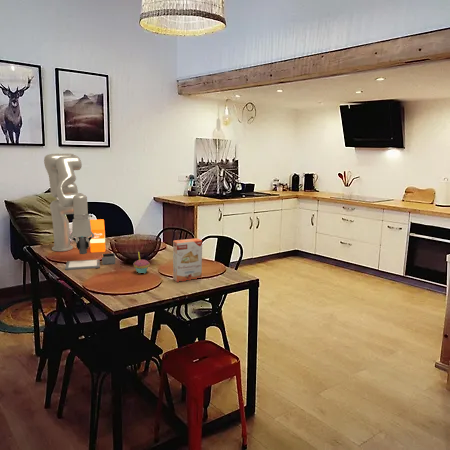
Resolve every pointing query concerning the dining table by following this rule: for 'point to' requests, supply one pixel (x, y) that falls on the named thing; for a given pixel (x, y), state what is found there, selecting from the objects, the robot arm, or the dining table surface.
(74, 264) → the writing board
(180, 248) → the cracker box
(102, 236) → the orange juice
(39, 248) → the dining table surface
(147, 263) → the cupcake
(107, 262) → the grey square block
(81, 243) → the marker
